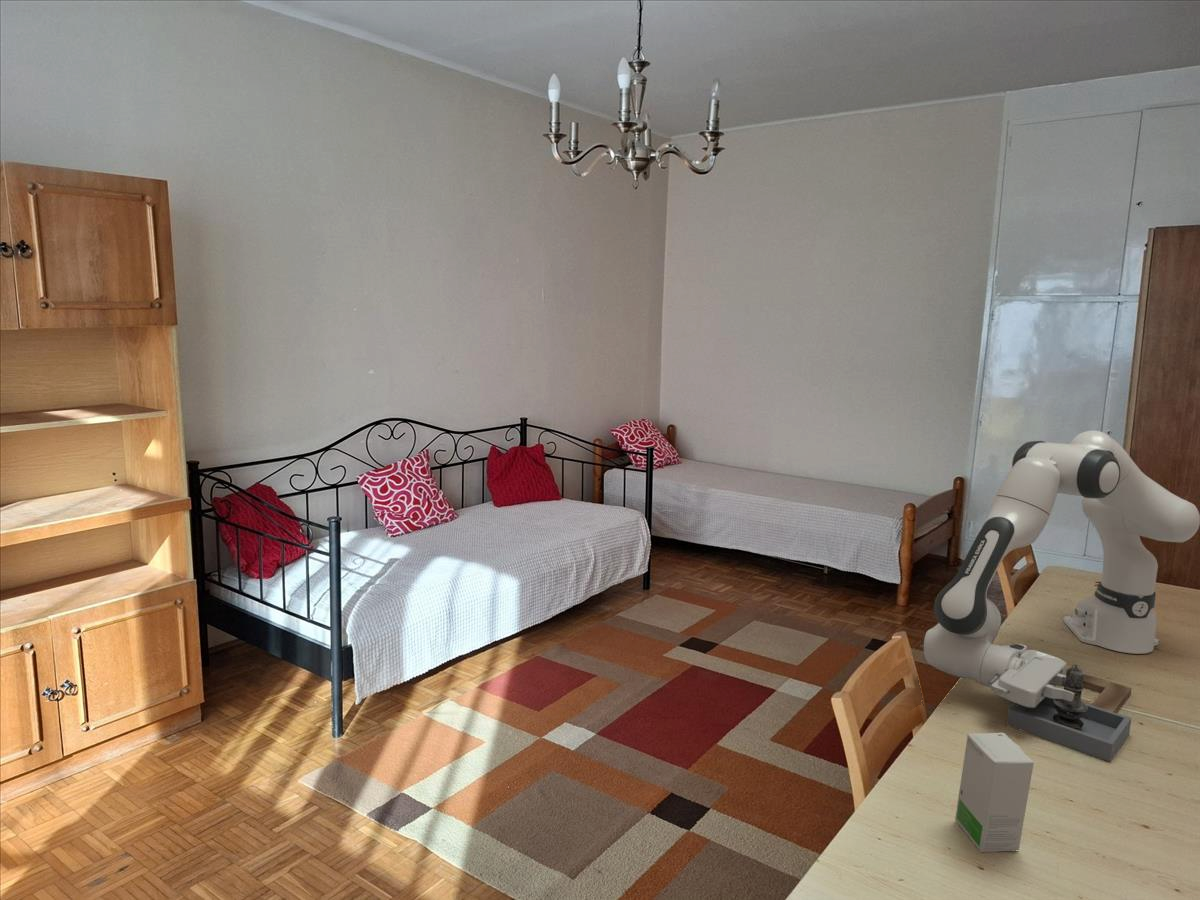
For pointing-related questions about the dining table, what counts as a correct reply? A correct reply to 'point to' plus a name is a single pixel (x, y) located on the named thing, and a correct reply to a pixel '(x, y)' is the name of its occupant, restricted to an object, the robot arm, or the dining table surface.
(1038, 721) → the parts tray
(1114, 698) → the socket block
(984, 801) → the skincare box
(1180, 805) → the dining table surface
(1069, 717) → the dark piece
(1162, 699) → the dining table surface
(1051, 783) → the dining table surface
